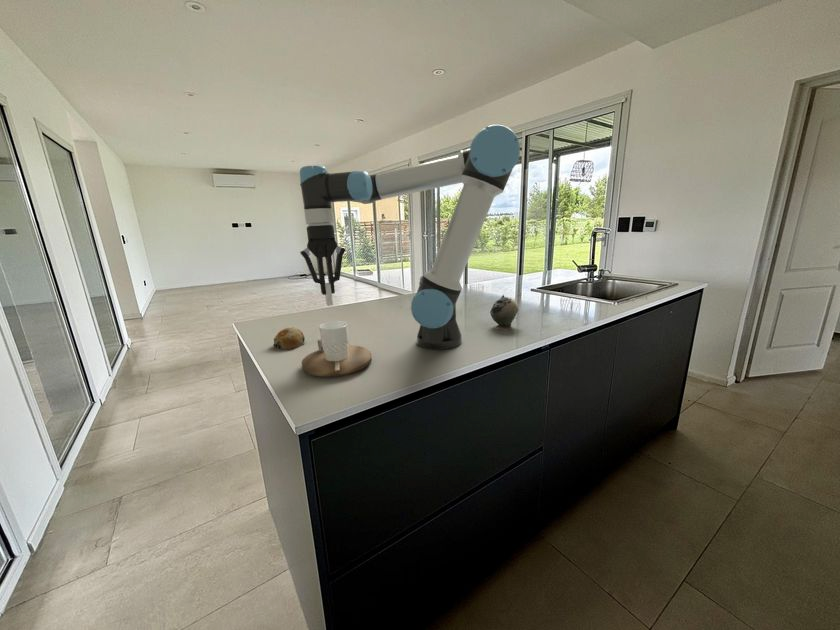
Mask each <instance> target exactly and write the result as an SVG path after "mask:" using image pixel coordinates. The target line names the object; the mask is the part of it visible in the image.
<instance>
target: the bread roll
mask: <svg viewBox="0 0 840 630" xmlns="http://www.w3.org/2000/svg"><path fill="white" fill-rule="evenodd" d="M305 337H306V336H305V335H304V333H303V331H301V330H300V329H299V328H296V327H286V328H283V329H282V330H280V331H278V332H277V334H276V335H275V337H274V338H273V345H272V346H273V347H276V349H279V350H291V349H296V348H299V347H301V346H304V345H305V344H306V342H305Z"/></svg>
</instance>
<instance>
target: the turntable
mask: <svg viewBox="0 0 840 630" xmlns="http://www.w3.org/2000/svg"><path fill="white" fill-rule="evenodd" d="M317 346H318V347H317V348H318V350H315V351H313V352H311V353H309V354H307V355H306V356H304V358H302V360H301V367H302V371H303V372H305V373H306V374H308V375H311V376H314V377H315V376H316V377H337V376H344V375H349V374H352V373H355V372H358V371H359V370H362V369H364V368H365V367H367V366H368V365H370V363H371V362H372V360H373V357H372V351H371V350H369V349H368V348H366V347H364V346H360V345H351V344H349V347H348V350H349V356H348V358H346V359H344V360H341V361H327V360H326V359H325V354H324V350H323V345H322V340H321V338H320V339H317Z"/></svg>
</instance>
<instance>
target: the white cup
mask: <svg viewBox="0 0 840 630" xmlns="http://www.w3.org/2000/svg"><path fill="white" fill-rule="evenodd" d="M348 325H349V324H348V322H347V321H344V320H343V321H342V320H333V321H327V322H324V323H321V324H319V326H318V327H319V333H320V339H321V340H322V345H323V350H324V354H325V359H326V360H327V361H341V360H344V359H346V358H348V356H349V350H348V347H349V345H350V344H349V328H348Z"/></svg>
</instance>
